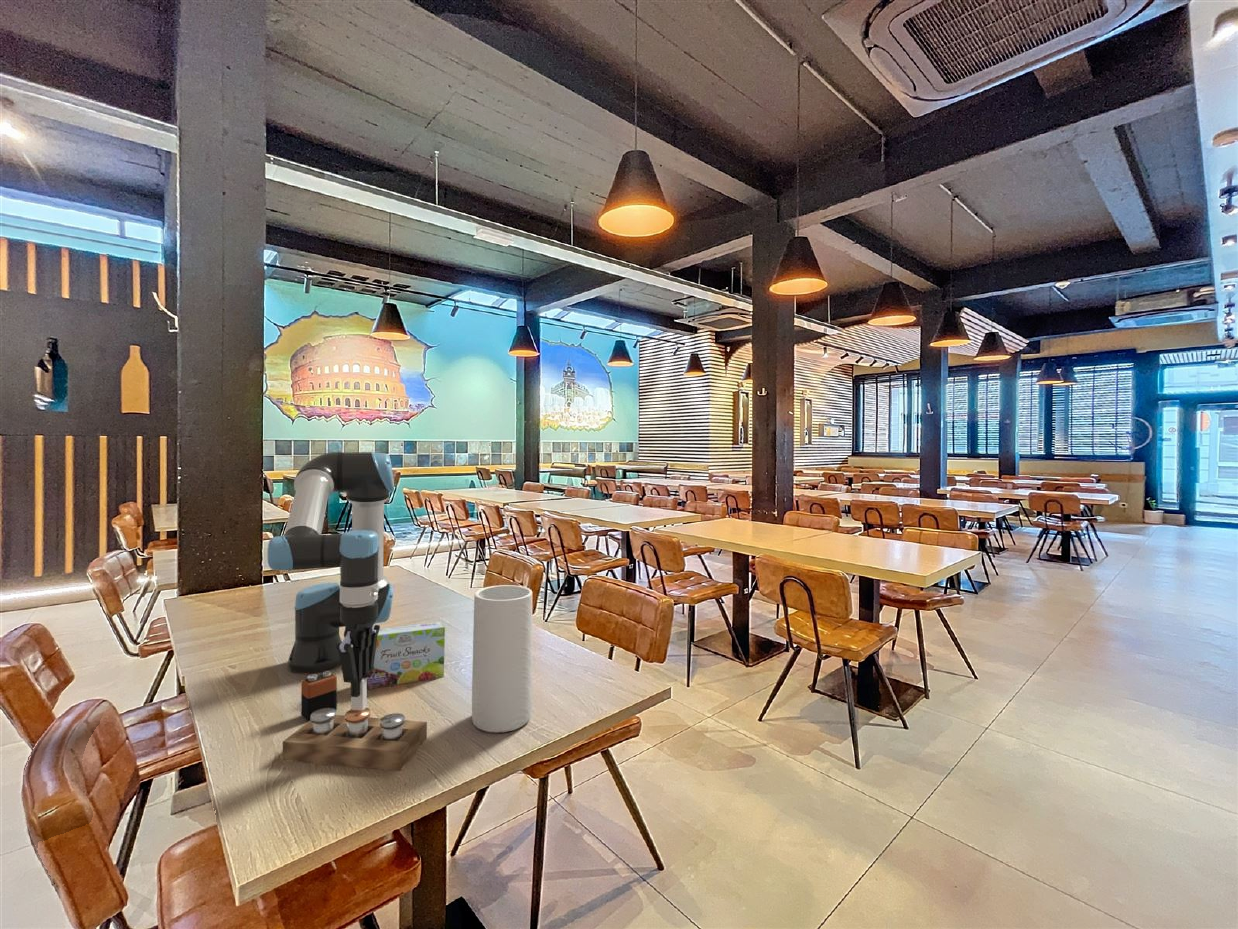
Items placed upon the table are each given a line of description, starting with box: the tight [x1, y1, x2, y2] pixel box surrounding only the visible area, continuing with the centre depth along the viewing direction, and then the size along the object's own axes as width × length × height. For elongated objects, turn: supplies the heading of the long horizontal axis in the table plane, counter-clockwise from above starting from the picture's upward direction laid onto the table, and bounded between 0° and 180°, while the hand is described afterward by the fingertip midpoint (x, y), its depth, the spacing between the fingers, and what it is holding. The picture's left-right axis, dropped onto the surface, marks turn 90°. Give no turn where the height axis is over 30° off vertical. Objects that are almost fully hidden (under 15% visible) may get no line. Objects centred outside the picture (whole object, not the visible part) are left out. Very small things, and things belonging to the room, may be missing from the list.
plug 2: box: [380, 712, 406, 741], centre depth 118 cm, size 5×5×6 cm
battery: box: [300, 670, 338, 722], centre depth 134 cm, size 4×7×10 cm, turn 142°
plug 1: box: [310, 708, 337, 735], centre depth 120 cm, size 5×5×6 cm
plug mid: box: [344, 707, 371, 738], centre depth 119 cm, size 5×5×6 cm
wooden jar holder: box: [282, 714, 428, 772], centre depth 119 cm, size 26×12×4 cm, turn 84°
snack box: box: [367, 621, 446, 690], centre depth 153 cm, size 21×6×15 cm, turn 117°
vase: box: [471, 584, 533, 734], centre depth 133 cm, size 14×14×32 cm
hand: (358, 708), depth 119 cm, fingers closed
